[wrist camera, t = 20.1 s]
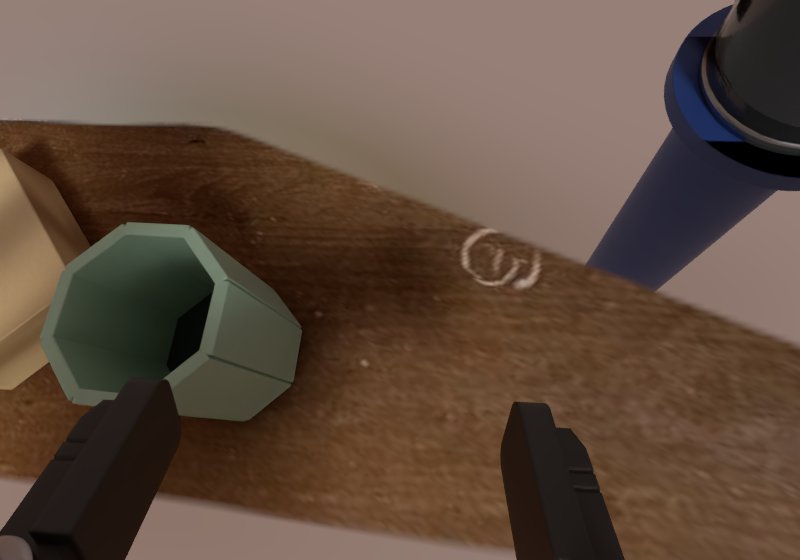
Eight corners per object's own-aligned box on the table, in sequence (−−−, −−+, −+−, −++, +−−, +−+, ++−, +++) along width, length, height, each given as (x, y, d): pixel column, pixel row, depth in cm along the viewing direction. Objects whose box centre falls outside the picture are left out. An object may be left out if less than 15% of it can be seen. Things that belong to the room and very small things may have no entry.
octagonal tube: (257, 264, 25) (327, 359, 23) (155, 343, 25) (218, 448, 23) (166, 189, 18) (258, 320, 16) (17, 300, 17) (92, 451, 15)
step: (125, 305, 26) (74, 285, 22) (11, 390, 25) (-58, 383, 22) (53, 180, 29) (-1, 146, 26) (-50, 253, 28) (-118, 228, 25)
